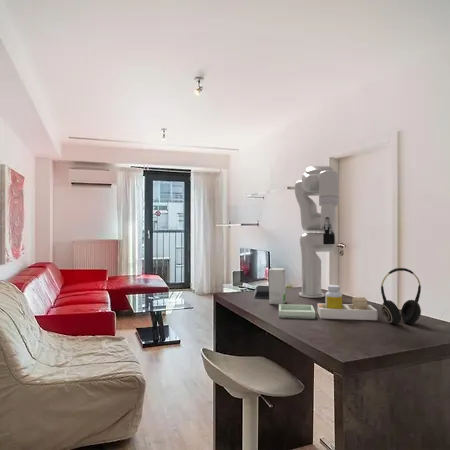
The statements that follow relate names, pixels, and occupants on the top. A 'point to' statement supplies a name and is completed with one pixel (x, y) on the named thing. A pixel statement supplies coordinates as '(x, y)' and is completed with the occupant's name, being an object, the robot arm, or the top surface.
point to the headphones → (409, 309)
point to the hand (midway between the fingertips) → (329, 244)
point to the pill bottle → (333, 298)
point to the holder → (347, 312)
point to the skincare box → (277, 286)
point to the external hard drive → (261, 292)
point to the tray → (296, 311)
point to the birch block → (359, 303)
